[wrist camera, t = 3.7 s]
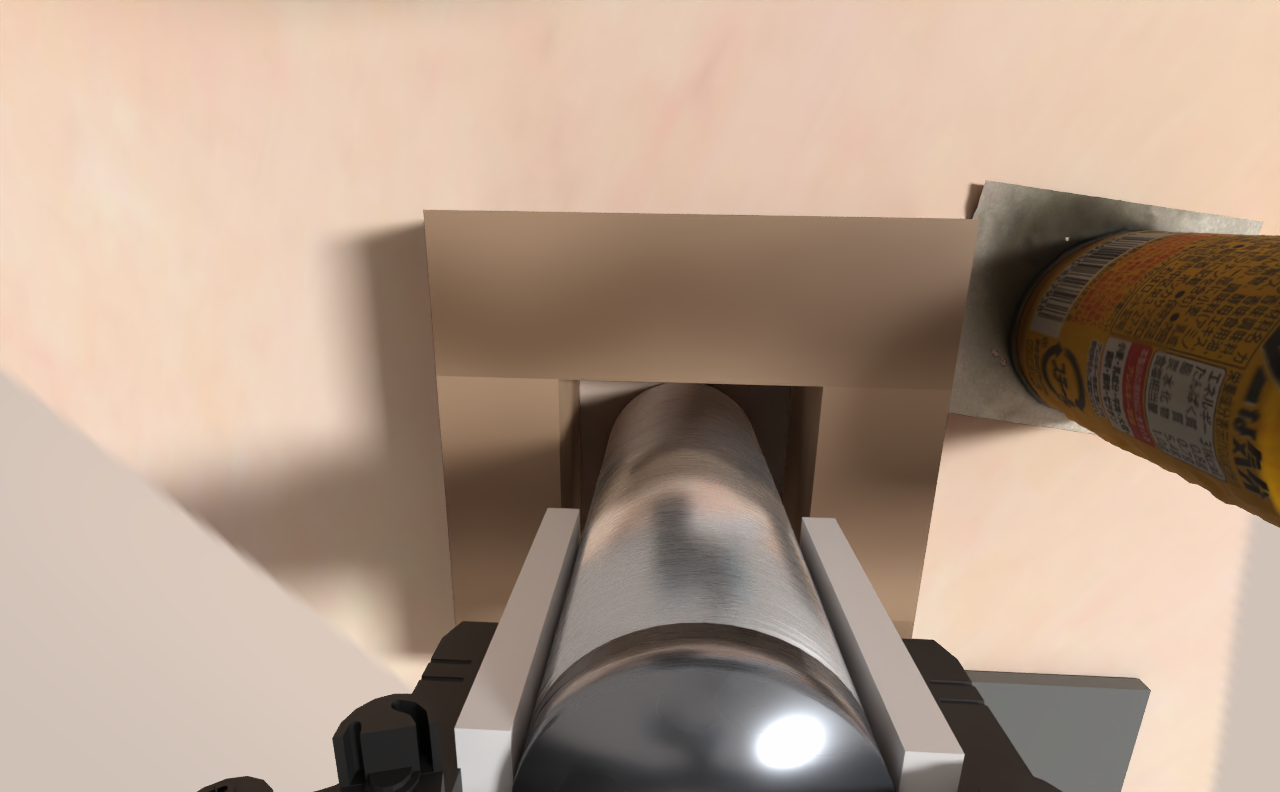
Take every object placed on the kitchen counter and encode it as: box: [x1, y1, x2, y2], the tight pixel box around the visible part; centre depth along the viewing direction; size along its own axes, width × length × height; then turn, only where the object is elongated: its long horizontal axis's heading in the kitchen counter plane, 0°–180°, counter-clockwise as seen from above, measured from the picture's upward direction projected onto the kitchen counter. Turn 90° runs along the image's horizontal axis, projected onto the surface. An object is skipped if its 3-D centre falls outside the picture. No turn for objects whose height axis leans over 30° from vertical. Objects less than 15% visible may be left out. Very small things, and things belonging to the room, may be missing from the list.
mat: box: [965, 671, 1151, 792], centre depth 25 cm, size 10×10×1 cm
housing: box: [423, 210, 980, 639], centre depth 20 cm, size 16×14×4 cm
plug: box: [512, 382, 896, 792], centre depth 15 cm, size 5×5×14 cm
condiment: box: [948, 181, 1280, 527], centre depth 14 cm, size 7×8×12 cm
